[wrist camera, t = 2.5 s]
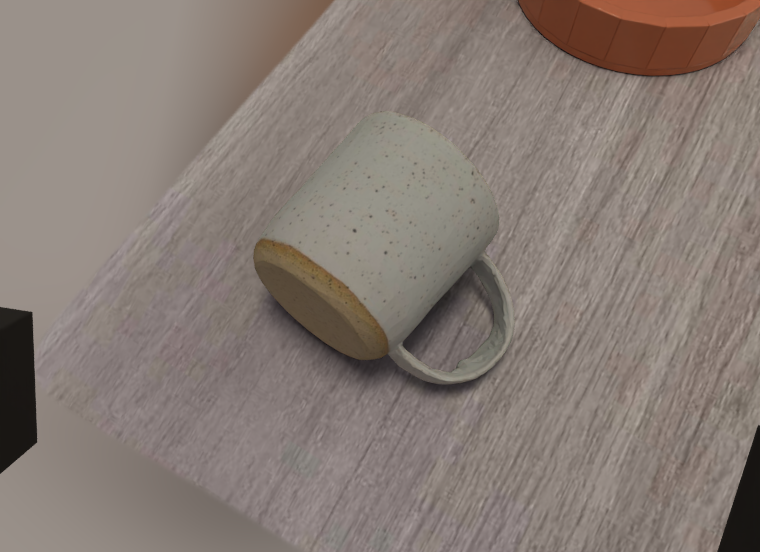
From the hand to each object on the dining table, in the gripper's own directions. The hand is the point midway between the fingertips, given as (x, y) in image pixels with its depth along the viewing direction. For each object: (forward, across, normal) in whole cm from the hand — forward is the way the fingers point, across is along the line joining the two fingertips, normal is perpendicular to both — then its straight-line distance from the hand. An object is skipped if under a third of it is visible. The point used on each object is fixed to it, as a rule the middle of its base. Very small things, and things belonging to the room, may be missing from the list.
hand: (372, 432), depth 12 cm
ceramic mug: (+19, -1, -4) cm, 19 cm away
